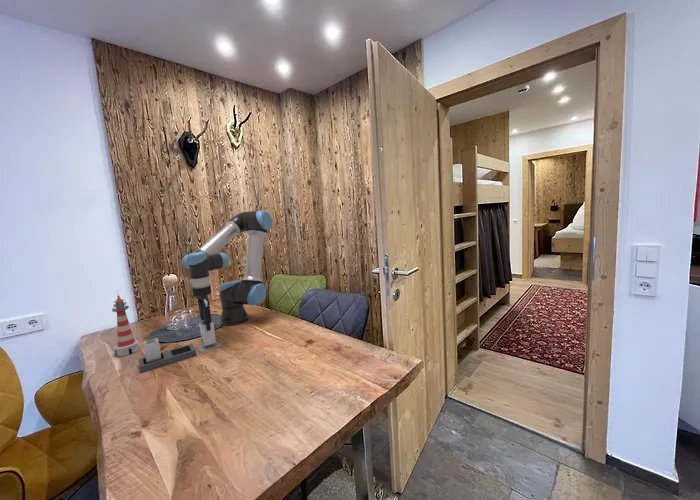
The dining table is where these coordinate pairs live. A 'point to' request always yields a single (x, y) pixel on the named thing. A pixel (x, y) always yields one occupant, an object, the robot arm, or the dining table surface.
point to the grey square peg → (203, 337)
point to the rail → (168, 358)
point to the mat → (208, 346)
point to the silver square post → (152, 350)
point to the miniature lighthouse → (123, 331)
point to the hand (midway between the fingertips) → (207, 335)
